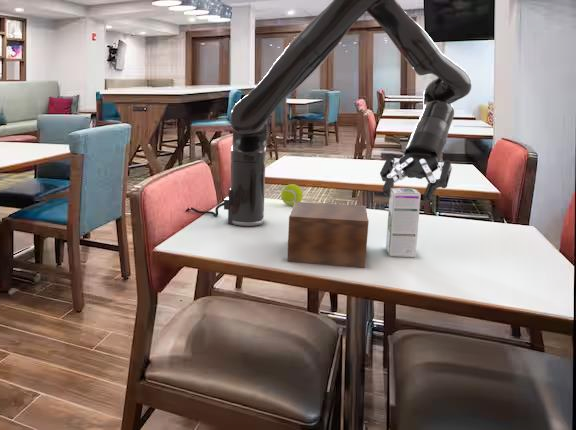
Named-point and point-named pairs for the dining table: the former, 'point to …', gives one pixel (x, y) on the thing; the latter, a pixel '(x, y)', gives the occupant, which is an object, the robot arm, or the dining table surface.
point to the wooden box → (328, 234)
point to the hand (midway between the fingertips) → (405, 197)
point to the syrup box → (403, 222)
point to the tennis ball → (291, 194)
